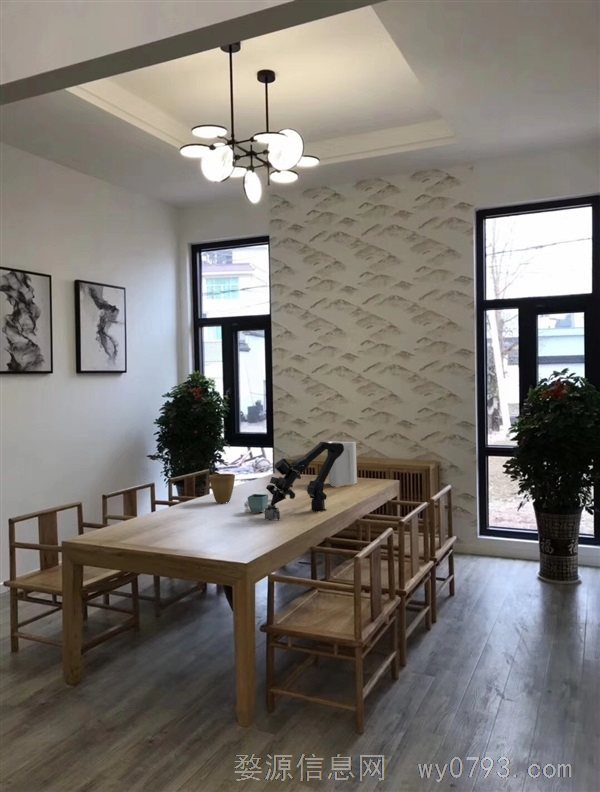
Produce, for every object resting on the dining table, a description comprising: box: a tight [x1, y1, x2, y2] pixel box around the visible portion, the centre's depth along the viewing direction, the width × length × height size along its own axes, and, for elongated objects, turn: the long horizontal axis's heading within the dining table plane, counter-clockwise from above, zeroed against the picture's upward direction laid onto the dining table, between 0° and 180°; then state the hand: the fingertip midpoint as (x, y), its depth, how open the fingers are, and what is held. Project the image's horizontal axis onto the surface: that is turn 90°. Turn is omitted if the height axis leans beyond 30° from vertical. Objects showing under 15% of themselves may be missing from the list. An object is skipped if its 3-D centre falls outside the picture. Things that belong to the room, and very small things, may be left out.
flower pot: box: [247, 493, 269, 513], centre depth 339 cm, size 9×9×9 cm
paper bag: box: [326, 440, 358, 486], centre depth 416 cm, size 19×15×28 cm
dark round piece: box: [267, 504, 276, 510], centre depth 323 cm, size 5×5×6 cm
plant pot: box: [209, 473, 236, 504], centre depth 370 cm, size 15×15×16 cm
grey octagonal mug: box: [264, 506, 281, 521], centre depth 322 cm, size 7×10×5 cm
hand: (271, 504), depth 323 cm, fingers closed, pressing on dark round piece
